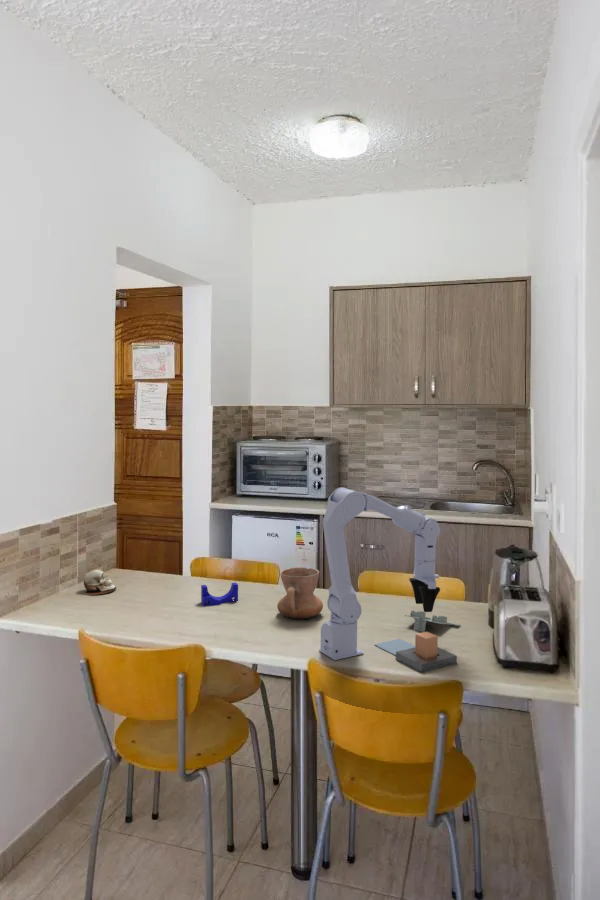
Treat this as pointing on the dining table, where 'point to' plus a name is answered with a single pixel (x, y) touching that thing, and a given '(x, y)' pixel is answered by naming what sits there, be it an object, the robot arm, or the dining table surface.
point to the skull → (97, 583)
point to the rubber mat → (395, 646)
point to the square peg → (426, 645)
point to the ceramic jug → (300, 593)
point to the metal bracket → (421, 620)
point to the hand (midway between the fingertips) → (423, 607)
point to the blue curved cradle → (212, 600)
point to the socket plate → (429, 663)
